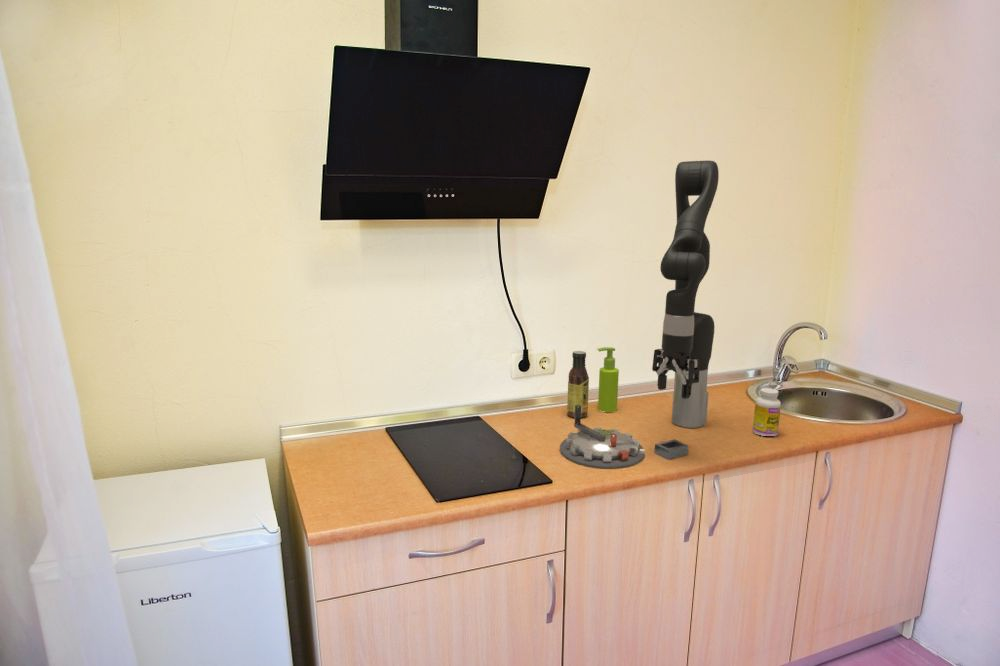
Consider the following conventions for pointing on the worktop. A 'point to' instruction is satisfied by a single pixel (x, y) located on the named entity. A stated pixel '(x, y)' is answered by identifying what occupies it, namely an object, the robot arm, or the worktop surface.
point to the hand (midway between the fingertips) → (673, 393)
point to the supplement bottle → (767, 413)
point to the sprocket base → (599, 462)
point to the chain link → (671, 449)
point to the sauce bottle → (578, 385)
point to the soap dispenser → (608, 382)
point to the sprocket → (600, 442)
